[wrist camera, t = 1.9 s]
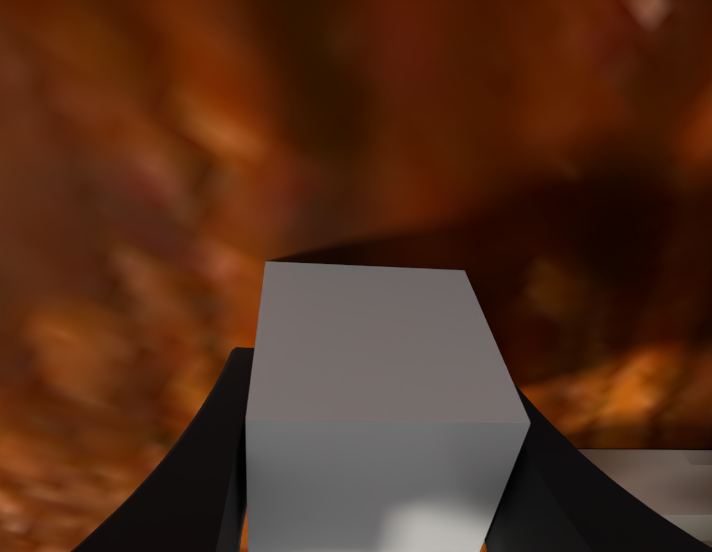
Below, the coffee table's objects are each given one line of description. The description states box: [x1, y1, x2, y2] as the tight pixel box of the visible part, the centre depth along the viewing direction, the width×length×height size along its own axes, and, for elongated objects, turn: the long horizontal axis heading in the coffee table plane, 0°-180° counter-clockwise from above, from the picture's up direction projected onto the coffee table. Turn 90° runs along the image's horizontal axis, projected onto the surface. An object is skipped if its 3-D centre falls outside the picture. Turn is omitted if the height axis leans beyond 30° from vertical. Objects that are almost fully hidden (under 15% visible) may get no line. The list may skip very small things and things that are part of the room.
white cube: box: [246, 261, 531, 552], centre depth 13 cm, size 5×5×5 cm
